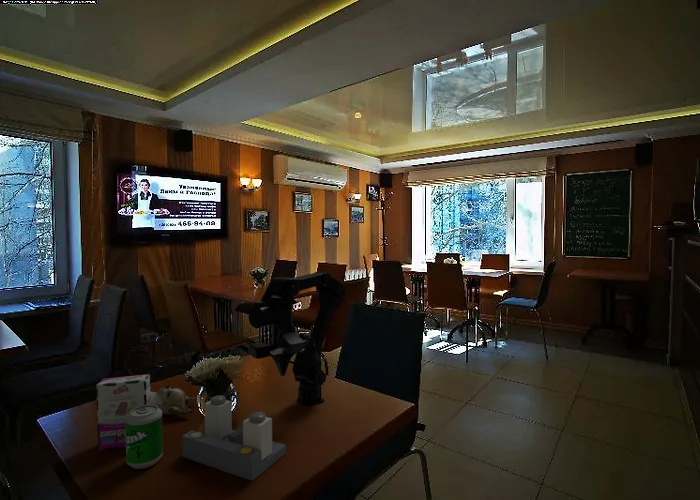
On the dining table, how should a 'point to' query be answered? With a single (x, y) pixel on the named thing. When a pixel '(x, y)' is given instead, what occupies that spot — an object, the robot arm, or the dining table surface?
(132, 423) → the soda can
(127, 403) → the candy bar box
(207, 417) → the button
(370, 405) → the dining table surface
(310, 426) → the dining table surface
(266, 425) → the button
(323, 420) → the dining table surface
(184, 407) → the ceramic sculpture
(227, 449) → the switch panel
